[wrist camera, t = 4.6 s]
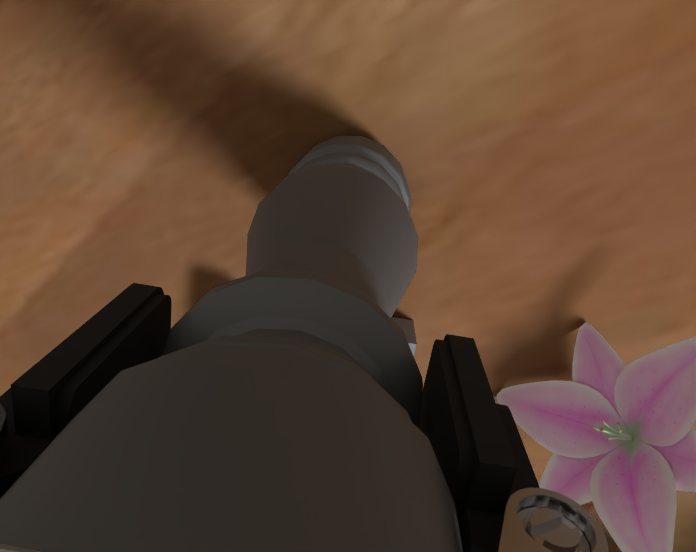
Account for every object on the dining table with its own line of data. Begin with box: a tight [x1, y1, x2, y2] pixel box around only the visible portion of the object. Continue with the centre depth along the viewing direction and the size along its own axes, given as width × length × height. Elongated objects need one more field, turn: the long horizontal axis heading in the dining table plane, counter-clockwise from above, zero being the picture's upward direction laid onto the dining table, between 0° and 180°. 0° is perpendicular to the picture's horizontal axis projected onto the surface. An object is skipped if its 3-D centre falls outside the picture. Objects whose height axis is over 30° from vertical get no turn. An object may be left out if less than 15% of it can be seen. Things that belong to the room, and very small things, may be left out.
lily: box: [496, 323, 696, 552], centre depth 29 cm, size 12×12×10 cm
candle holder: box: [0, 135, 463, 552], centre depth 16 cm, size 6×6×25 cm
